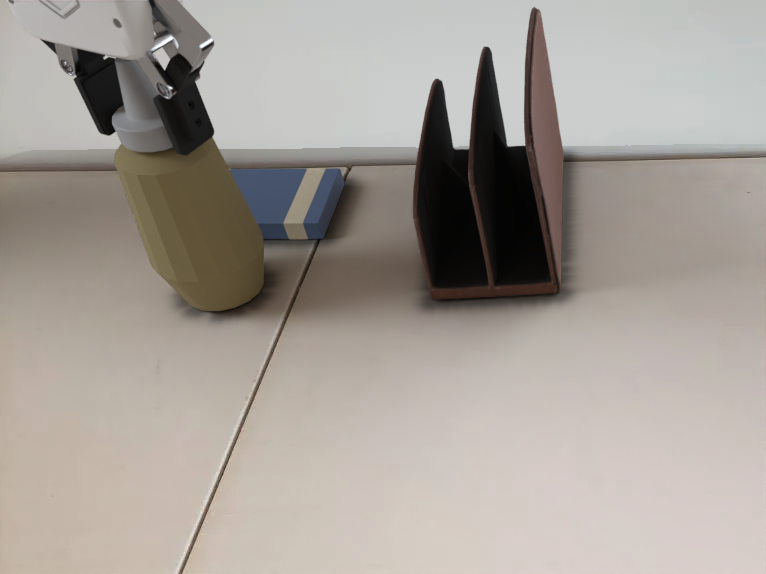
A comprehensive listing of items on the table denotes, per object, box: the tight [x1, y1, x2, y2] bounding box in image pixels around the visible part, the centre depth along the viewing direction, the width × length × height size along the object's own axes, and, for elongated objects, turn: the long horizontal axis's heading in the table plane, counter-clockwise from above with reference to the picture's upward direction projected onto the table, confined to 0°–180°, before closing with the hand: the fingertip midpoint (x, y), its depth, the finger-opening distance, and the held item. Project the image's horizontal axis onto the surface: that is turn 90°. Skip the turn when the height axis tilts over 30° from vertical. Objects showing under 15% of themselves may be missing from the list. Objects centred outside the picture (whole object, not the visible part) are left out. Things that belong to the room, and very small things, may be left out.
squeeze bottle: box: [112, 57, 265, 312], centre depth 75 cm, size 8×8×18 cm
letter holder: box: [412, 6, 565, 301], centre depth 82 cm, size 10×20×14 cm, turn 5°
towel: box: [229, 167, 346, 240], centre depth 88 cm, size 8×12×2 cm, turn 90°
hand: (157, 132), depth 72 cm, fingers open, 5 cm apart
